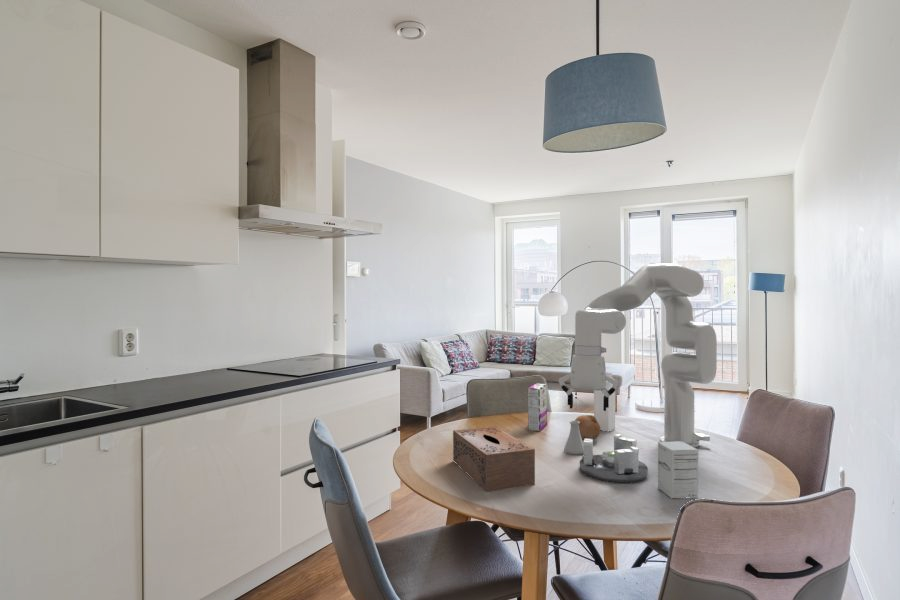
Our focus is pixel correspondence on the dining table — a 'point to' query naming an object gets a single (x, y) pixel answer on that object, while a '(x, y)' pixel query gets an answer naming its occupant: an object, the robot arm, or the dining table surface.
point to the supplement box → (678, 469)
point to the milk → (608, 416)
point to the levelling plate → (611, 470)
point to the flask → (574, 440)
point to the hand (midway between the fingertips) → (587, 408)
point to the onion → (588, 427)
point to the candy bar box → (537, 407)
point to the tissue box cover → (494, 458)
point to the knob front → (588, 452)
